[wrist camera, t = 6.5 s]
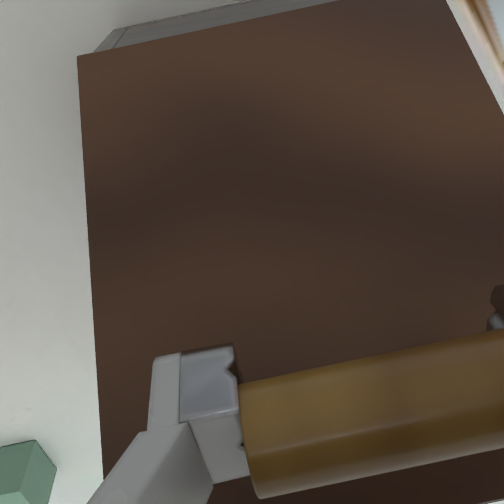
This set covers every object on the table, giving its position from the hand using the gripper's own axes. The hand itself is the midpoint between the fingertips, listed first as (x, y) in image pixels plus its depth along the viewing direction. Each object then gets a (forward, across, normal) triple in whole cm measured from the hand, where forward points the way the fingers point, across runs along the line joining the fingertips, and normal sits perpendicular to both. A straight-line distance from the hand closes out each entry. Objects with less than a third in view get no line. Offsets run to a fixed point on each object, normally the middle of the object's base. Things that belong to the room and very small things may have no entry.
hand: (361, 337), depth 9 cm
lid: (+5, 0, 0) cm, 5 cm away
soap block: (+20, +25, +27) cm, 42 cm away
